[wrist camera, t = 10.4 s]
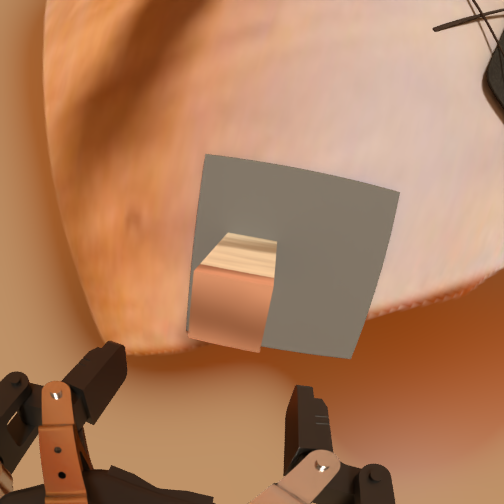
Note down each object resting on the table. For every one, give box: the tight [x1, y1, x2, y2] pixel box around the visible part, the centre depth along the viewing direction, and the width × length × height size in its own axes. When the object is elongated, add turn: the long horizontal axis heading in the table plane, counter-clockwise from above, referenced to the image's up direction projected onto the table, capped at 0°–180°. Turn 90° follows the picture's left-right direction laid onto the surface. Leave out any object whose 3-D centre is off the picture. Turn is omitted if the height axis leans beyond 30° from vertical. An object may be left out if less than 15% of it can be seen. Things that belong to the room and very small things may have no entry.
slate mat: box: [186, 154, 400, 359], centre depth 30 cm, size 20×20×1 cm
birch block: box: [188, 233, 277, 352], centre depth 24 cm, size 5×5×12 cm
